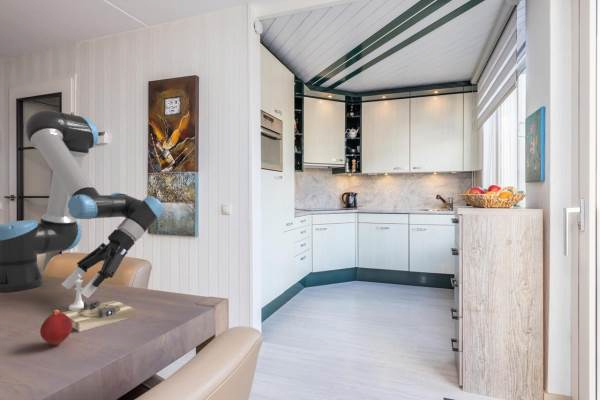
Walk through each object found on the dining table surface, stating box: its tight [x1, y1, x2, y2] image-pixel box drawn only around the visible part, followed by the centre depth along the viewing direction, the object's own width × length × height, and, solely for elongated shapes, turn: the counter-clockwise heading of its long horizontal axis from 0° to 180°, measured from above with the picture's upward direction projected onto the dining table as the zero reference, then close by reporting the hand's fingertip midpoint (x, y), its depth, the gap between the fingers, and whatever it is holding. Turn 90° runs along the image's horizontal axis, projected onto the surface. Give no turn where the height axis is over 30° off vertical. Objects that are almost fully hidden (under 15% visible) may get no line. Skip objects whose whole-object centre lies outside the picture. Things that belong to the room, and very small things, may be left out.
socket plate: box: [62, 299, 137, 333], centre depth 92 cm, size 12×14×4 cm
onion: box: [39, 309, 73, 346], centre depth 76 cm, size 6×6×8 cm
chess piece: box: [67, 274, 85, 311], centre depth 101 cm, size 5×5×10 cm
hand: (73, 291), depth 99 cm, fingers open, 13 cm apart
